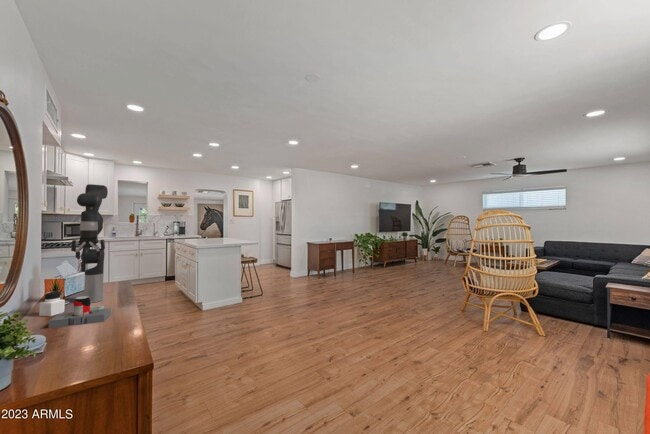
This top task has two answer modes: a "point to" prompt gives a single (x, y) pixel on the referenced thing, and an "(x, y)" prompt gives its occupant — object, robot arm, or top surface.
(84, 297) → the beverage can
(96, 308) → the tray frame
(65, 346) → the top surface
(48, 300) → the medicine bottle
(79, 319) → the socket plate
